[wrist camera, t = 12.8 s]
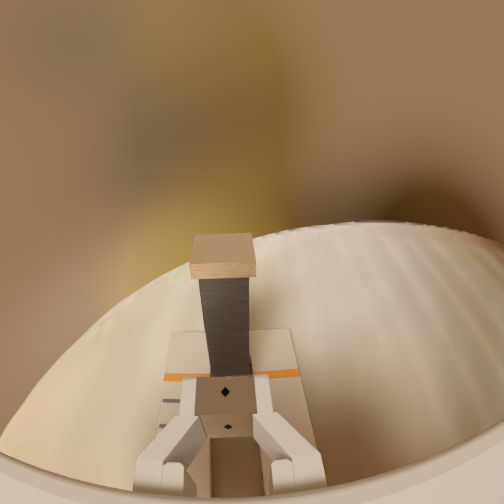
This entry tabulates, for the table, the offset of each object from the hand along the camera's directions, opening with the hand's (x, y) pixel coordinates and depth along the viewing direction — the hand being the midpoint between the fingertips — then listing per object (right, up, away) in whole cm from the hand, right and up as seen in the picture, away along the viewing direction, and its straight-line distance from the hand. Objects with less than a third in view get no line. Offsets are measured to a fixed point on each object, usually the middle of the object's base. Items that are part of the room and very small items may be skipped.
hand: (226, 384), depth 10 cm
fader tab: (-1, -9, +20) cm, 22 cm away
